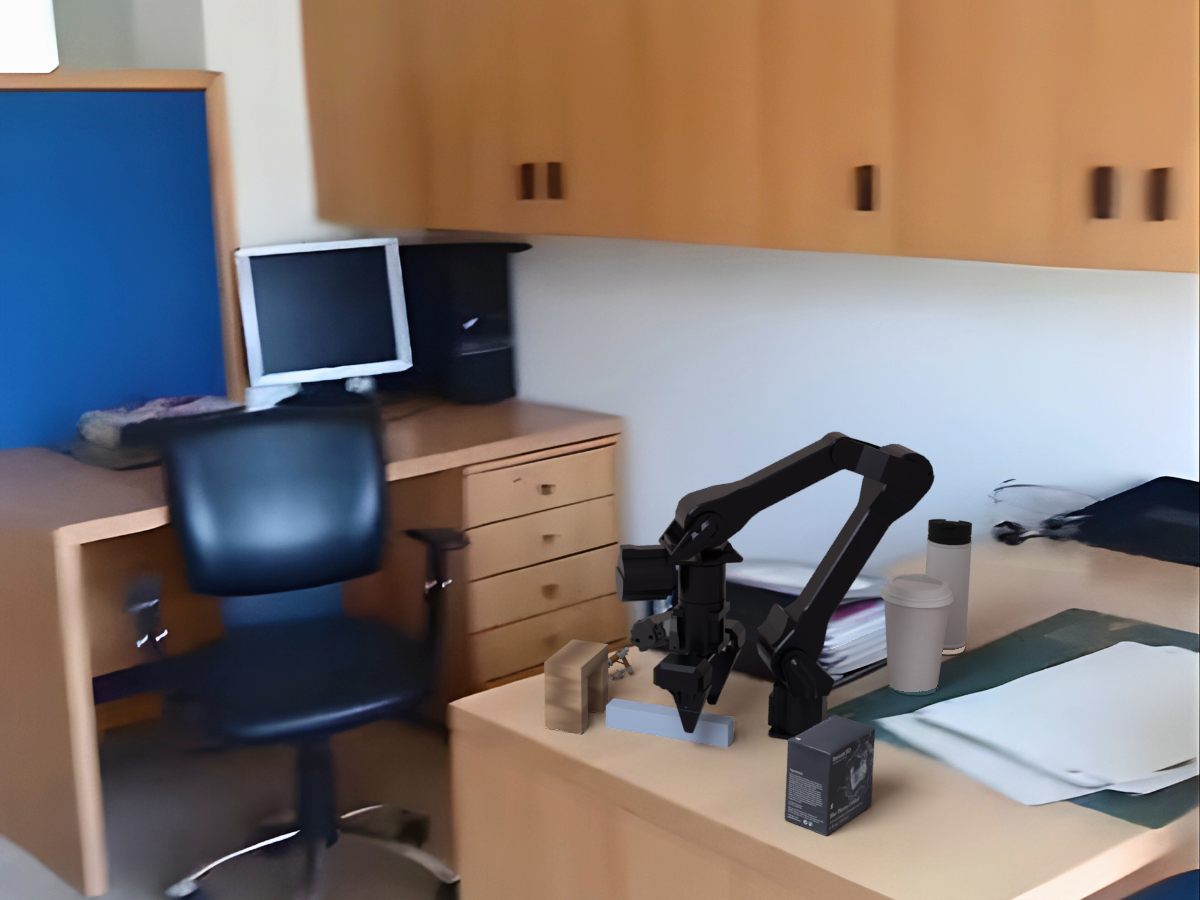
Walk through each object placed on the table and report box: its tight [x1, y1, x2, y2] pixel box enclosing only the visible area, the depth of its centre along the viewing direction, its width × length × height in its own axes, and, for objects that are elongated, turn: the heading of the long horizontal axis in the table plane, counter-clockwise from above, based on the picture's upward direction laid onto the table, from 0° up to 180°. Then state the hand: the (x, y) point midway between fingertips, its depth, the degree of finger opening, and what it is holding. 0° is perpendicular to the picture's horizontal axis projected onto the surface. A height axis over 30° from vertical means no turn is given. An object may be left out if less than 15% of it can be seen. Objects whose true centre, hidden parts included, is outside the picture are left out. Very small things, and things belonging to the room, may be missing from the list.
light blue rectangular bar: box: [605, 697, 735, 748], centre depth 155 cm, size 16×3×3 cm, turn 68°
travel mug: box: [925, 518, 973, 650], centre depth 183 cm, size 6×7×20 cm
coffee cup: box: [880, 573, 954, 692], centre depth 169 cm, size 10×10×15 cm
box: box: [783, 714, 876, 836], centre depth 134 cm, size 9×6×10 cm, turn 138°
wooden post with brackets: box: [608, 647, 635, 681], centre depth 173 cm, size 2×8×4 cm, turn 116°
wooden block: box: [543, 639, 609, 735], centre depth 159 cm, size 5×9×9 cm, turn 158°
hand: (700, 718), depth 154 cm, fingers open, 9 cm apart
